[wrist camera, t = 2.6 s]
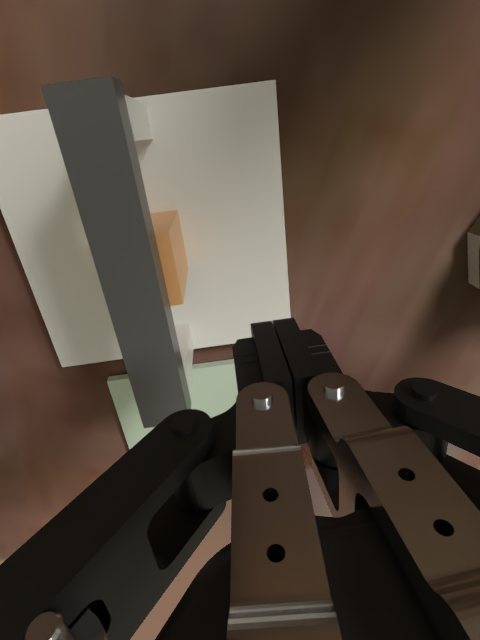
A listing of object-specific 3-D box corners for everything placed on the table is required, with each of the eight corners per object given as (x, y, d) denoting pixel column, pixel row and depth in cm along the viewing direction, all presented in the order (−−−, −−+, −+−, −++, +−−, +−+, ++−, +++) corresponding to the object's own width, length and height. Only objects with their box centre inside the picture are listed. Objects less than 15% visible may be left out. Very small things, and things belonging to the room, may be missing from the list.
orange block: (177, 209, 28) (168, 231, 21) (195, 303, 31) (191, 346, 25) (116, 217, 27) (88, 242, 21) (140, 310, 31) (122, 355, 25)
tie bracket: (272, 82, 26) (298, 60, 18) (288, 327, 34) (311, 382, 27) (-22, 120, 25) (-120, 113, 18) (67, 358, 34) (27, 422, 26)
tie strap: (121, 82, 18) (111, 76, 16) (191, 402, 26) (190, 421, 24) (57, 90, 18) (41, 85, 16) (148, 408, 26) (143, 428, 24)
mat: (258, 355, 35) (259, 360, 35) (267, 436, 40) (268, 441, 39) (108, 376, 35) (106, 381, 34) (134, 455, 40) (133, 460, 39)
